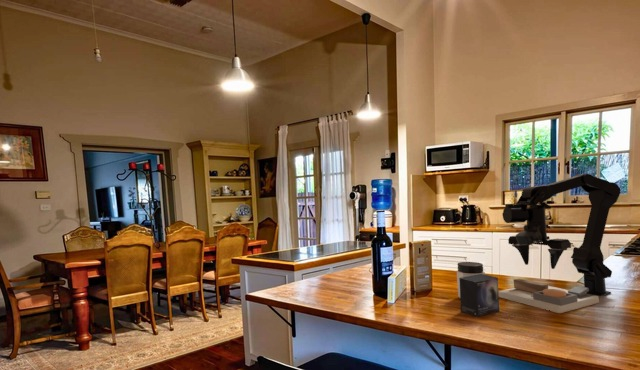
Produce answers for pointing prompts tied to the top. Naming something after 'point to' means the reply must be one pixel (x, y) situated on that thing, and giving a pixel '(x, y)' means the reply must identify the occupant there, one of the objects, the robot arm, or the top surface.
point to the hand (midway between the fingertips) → (539, 266)
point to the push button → (554, 293)
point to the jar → (468, 271)
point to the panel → (549, 299)
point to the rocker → (578, 290)
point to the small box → (479, 294)
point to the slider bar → (529, 285)
